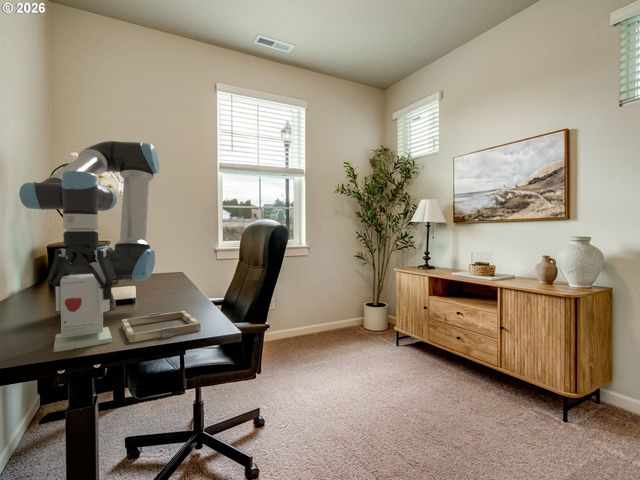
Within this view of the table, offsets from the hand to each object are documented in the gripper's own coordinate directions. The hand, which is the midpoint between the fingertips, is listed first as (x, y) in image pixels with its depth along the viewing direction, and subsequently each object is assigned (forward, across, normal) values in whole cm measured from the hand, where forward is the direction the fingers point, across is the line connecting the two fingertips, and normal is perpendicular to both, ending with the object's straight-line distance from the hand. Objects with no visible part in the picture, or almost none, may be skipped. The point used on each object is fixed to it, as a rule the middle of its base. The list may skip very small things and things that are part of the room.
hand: (83, 310), depth 88 cm
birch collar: (+8, +14, +13) cm, 21 cm away
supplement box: (+6, 0, 0) cm, 6 cm away
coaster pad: (+8, 0, 0) cm, 8 cm away
